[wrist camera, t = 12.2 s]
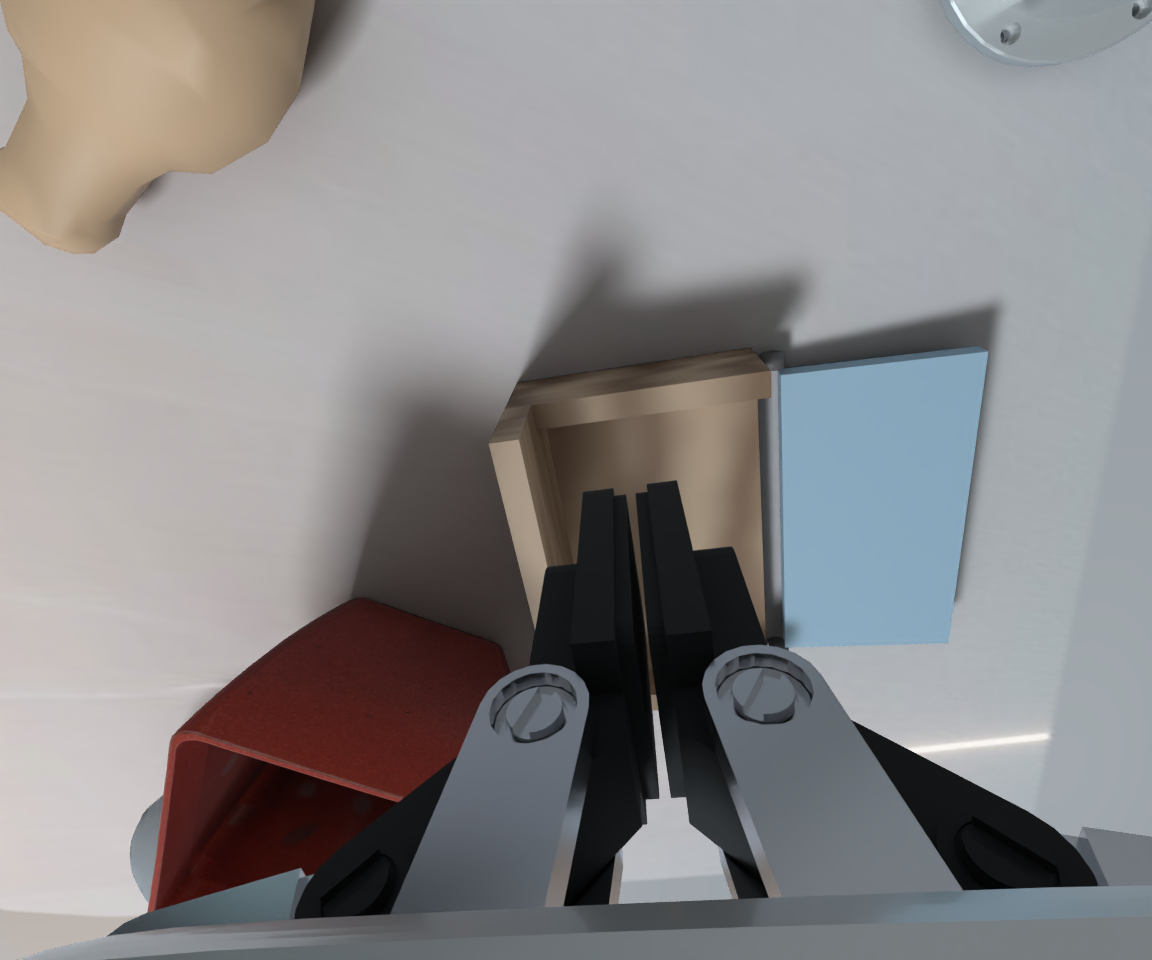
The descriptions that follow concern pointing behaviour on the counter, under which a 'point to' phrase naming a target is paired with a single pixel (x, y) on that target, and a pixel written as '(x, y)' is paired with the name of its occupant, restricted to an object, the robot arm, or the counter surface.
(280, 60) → the squash
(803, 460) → the panel
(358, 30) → the counter surface
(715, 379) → the box
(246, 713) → the plant pot
